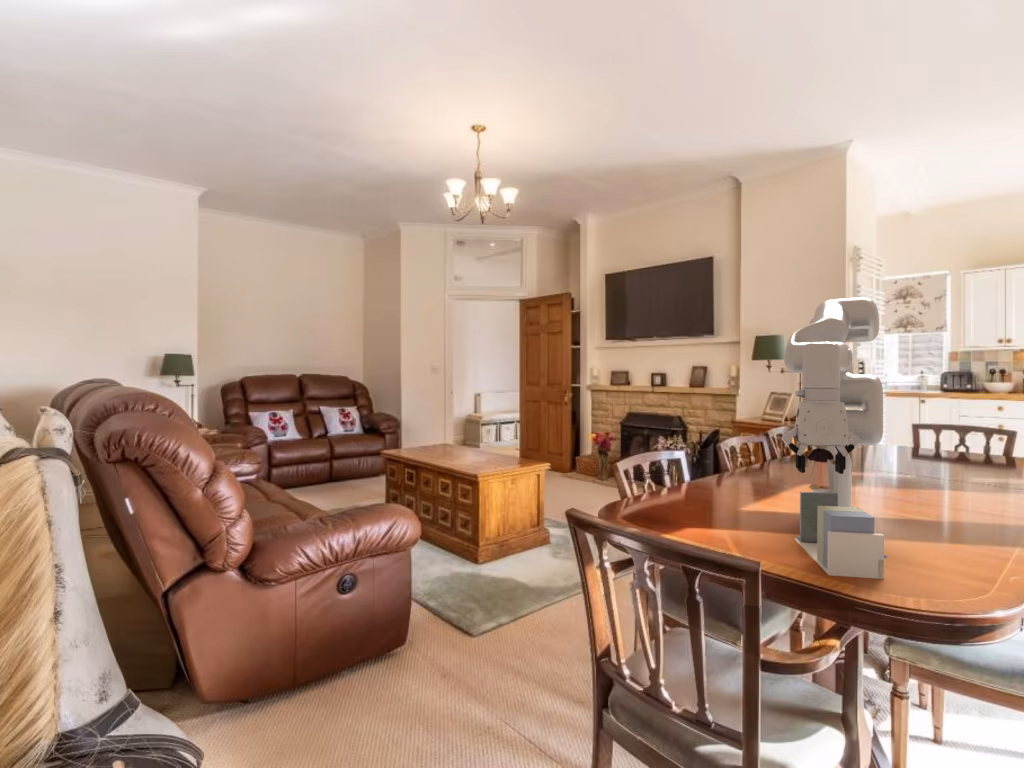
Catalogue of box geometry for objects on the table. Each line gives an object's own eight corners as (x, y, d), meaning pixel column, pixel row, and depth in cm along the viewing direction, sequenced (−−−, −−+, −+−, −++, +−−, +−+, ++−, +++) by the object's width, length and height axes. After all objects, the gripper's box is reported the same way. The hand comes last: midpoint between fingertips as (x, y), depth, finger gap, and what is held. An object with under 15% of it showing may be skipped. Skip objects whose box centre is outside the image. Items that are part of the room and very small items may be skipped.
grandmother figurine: (816, 491, 122) (816, 435, 121) (801, 488, 125) (801, 433, 125) (840, 488, 125) (841, 433, 124) (825, 485, 128) (826, 431, 128)
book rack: (794, 543, 134) (794, 503, 134) (838, 545, 132) (839, 505, 132) (829, 580, 111) (829, 532, 111) (883, 584, 109) (884, 535, 109)
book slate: (823, 566, 116) (824, 510, 116) (865, 568, 114) (866, 512, 114) (830, 573, 112) (831, 515, 112) (873, 575, 110) (874, 517, 110)
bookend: (797, 537, 134) (797, 489, 134) (832, 539, 133) (833, 491, 132) (801, 541, 131) (801, 492, 131) (837, 543, 130) (837, 494, 129)
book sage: (817, 559, 120) (817, 505, 120) (857, 561, 118) (857, 507, 118) (823, 565, 116) (823, 510, 116) (864, 568, 115) (865, 512, 114)
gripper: (784, 396, 123) (784, 474, 123) (870, 396, 119) (869, 476, 119) (775, 395, 130) (775, 468, 130) (856, 394, 126) (855, 470, 127)
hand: (820, 471), depth 125 cm, fingers closed on grandmother figurine, 7 cm apart
